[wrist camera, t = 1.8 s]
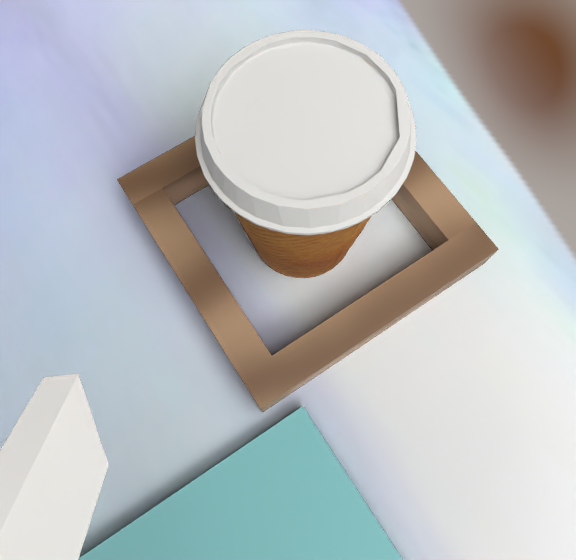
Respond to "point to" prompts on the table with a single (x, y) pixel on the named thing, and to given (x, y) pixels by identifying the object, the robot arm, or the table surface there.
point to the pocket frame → (340, 327)
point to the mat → (260, 508)
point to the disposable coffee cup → (305, 144)
